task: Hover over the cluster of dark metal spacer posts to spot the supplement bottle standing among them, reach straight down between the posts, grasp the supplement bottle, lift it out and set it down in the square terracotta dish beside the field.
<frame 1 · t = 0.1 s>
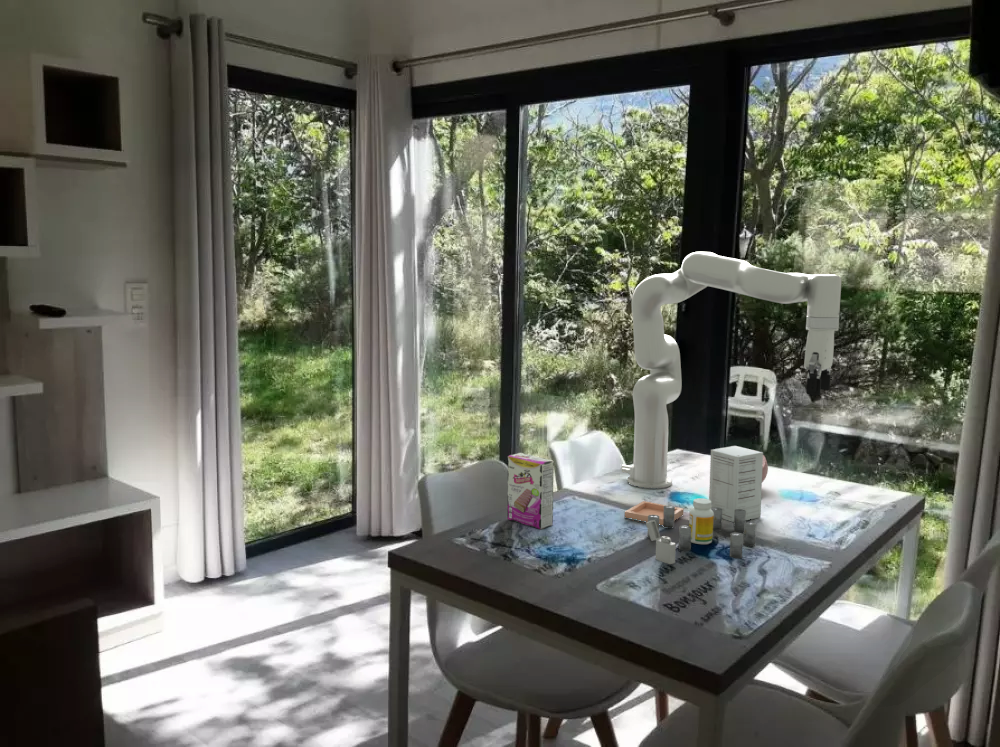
hand: (818, 391, 208), 31 cm above the table, tool pointing down, fingers open, 9 cm apart
lighter: (659, 559, 178), on the table
candy bar box: (529, 523, 202), on the table
supplement box: (734, 516, 208), on the table
dish: (654, 517, 207), on the table
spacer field: (700, 540, 190), on the table
supplement bottle: (700, 541, 190), on the table
mortar and pestle: (744, 489, 233), on the table
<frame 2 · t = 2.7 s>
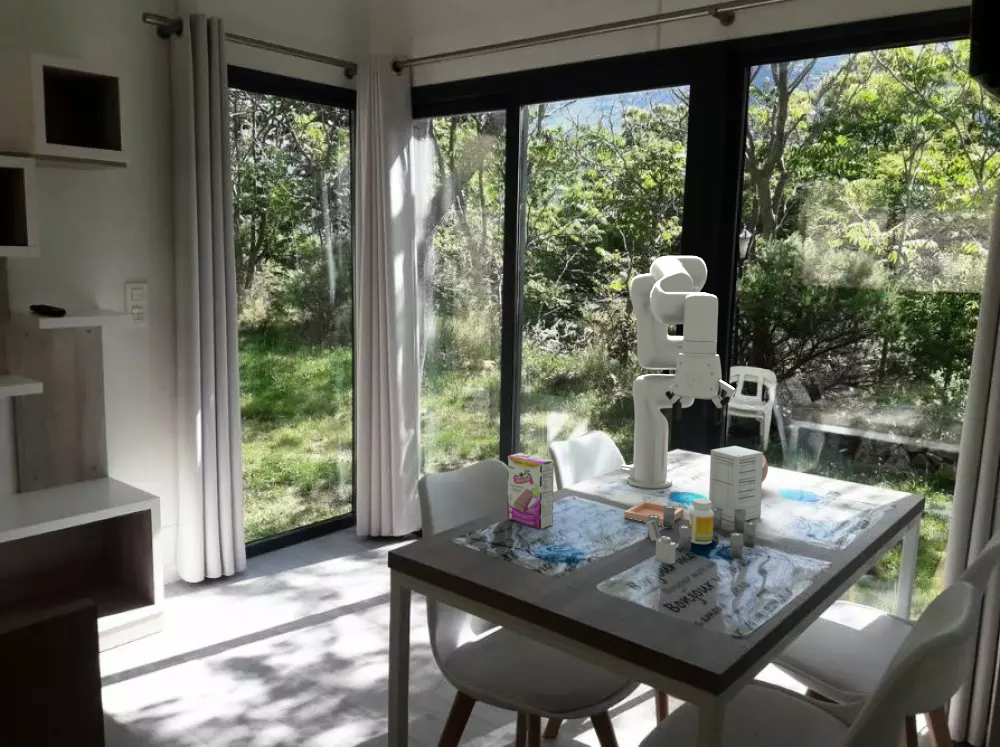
hand: (697, 422, 190), 27 cm above the table, tool pointing down, fingers open, 9 cm apart
nothing on the table moved.
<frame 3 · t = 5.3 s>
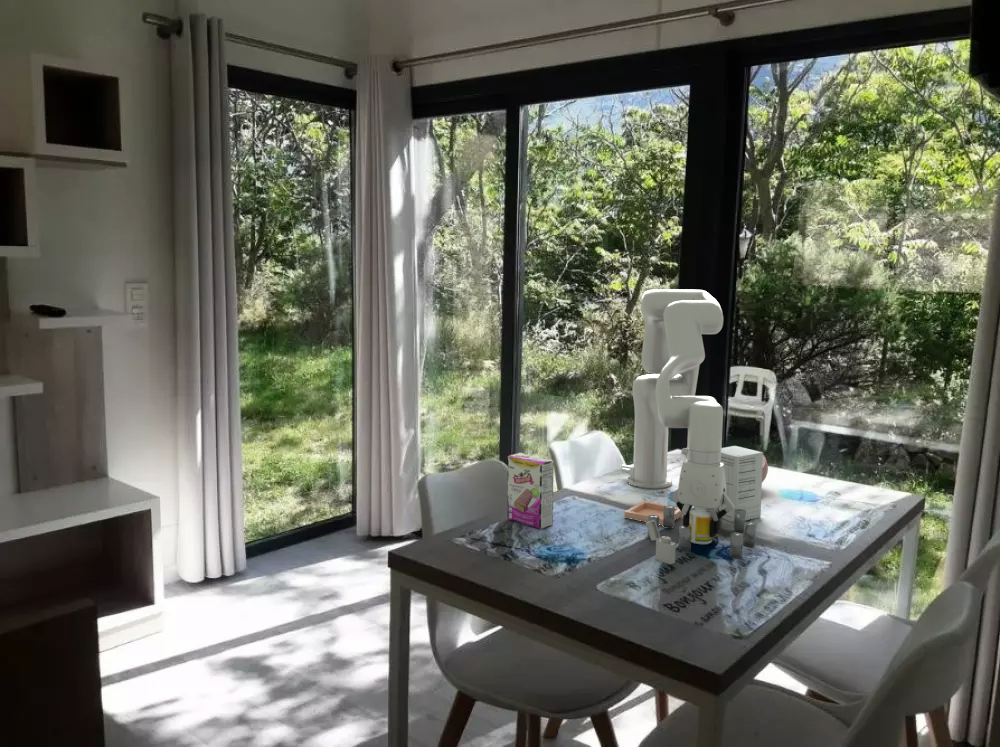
hand: (700, 532, 189), 2 cm above the table, tool pointing down, fingers closed on supplement bottle, 5 cm apart
supplement bottle: (700, 541, 190), on the table, touching gripper
everything else where it was.
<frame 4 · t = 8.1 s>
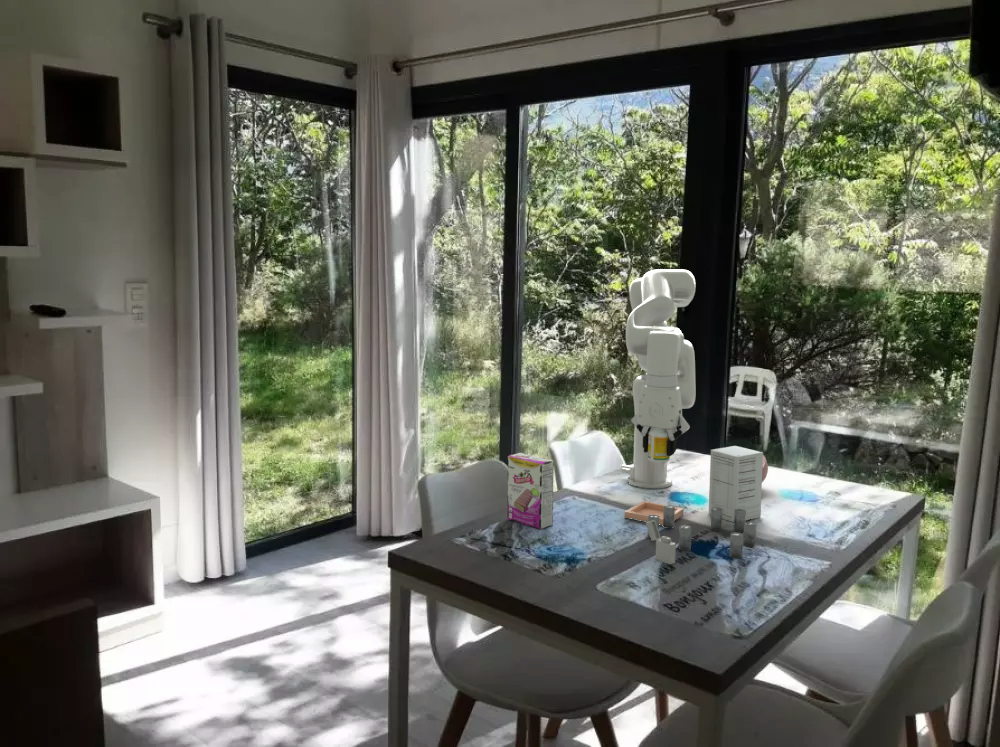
hand: (658, 452, 204), 17 cm above the table, tool pointing down, fingers closed on supplement bottle, 5 cm apart
supplement bottle: (658, 461, 204), point 15 cm above the table, touching gripper
everything else where it was.
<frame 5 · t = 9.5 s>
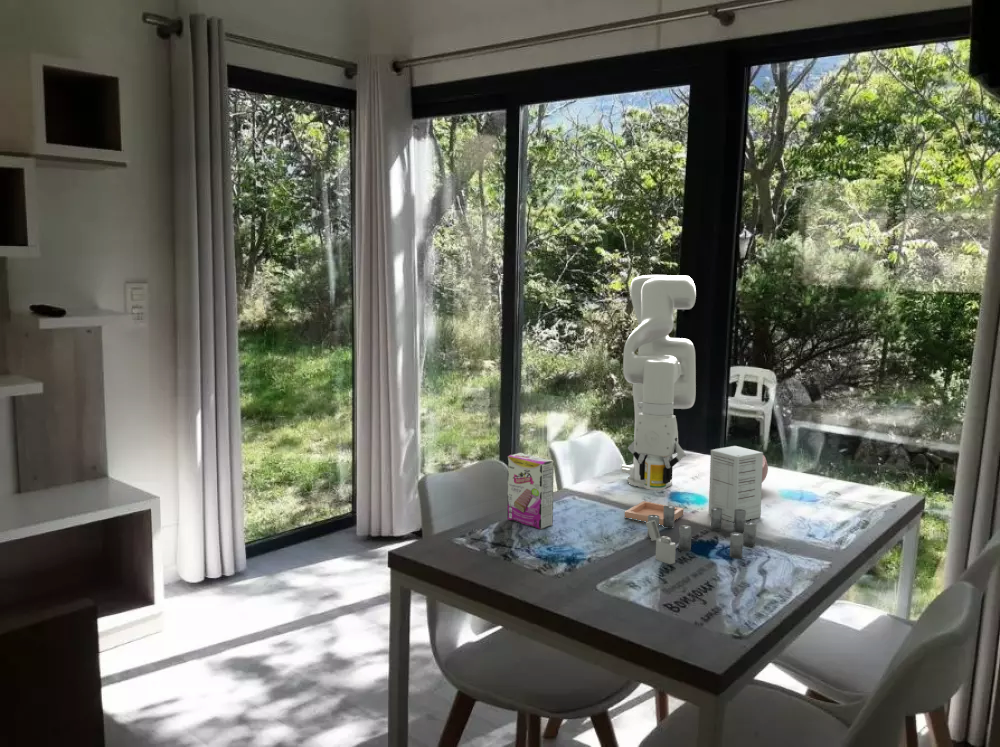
hand: (655, 480, 205), 10 cm above the table, tool pointing down, fingers closed on supplement bottle, 5 cm apart
supplement bottle: (655, 488, 205), point 7 cm above the table, touching gripper
everything else where it was.
when the fingers open (4 cm above the table, at t = 10.8 s): supplement bottle drops 1 cm, resting on dish.
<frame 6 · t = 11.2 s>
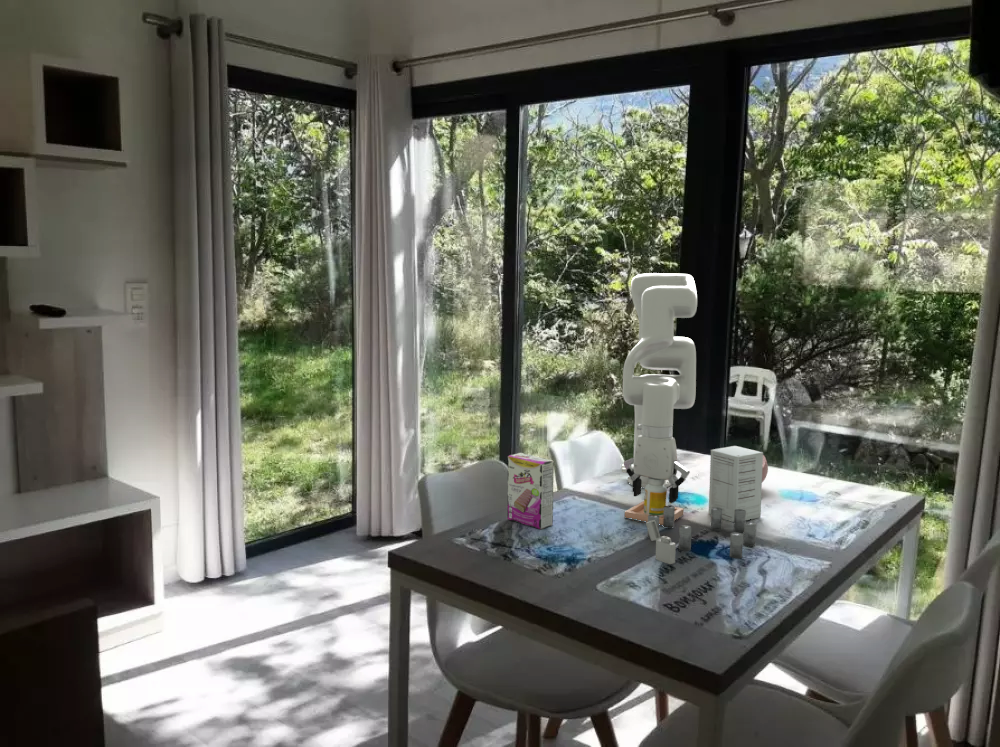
hand: (654, 498, 206), 5 cm above the table, tool pointing down, fingers open, 9 cm apart
supplement bottle: (654, 515, 207), resting on dish
everything else where it was.
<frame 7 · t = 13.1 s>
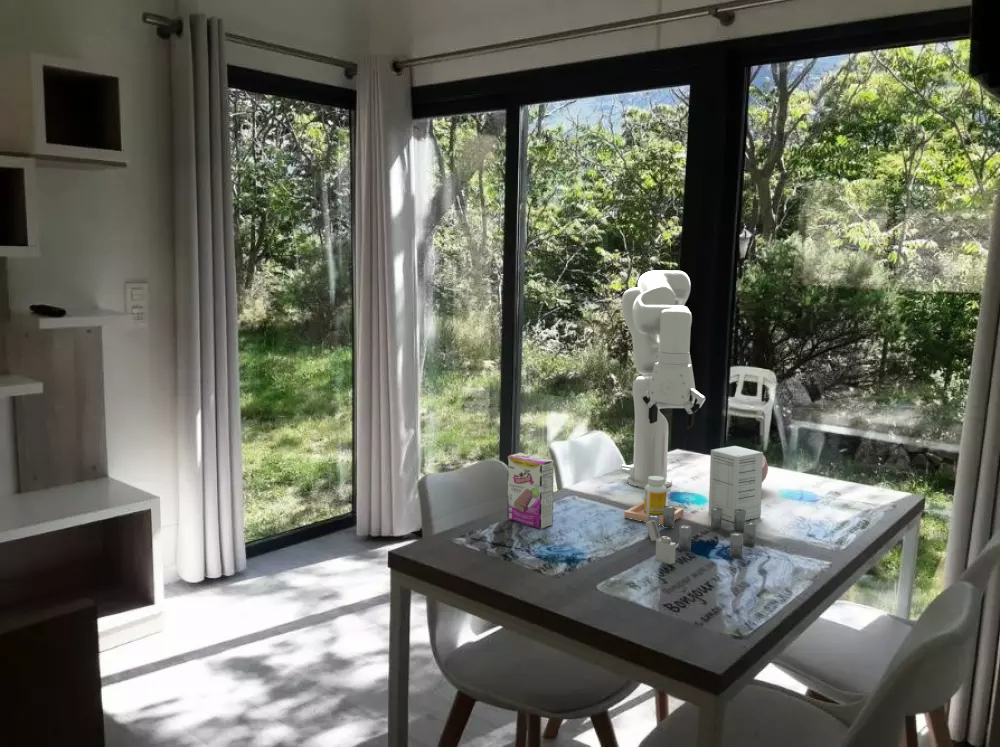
hand: (670, 425, 208), 23 cm above the table, tool pointing down, fingers open, 9 cm apart
nothing on the table moved.
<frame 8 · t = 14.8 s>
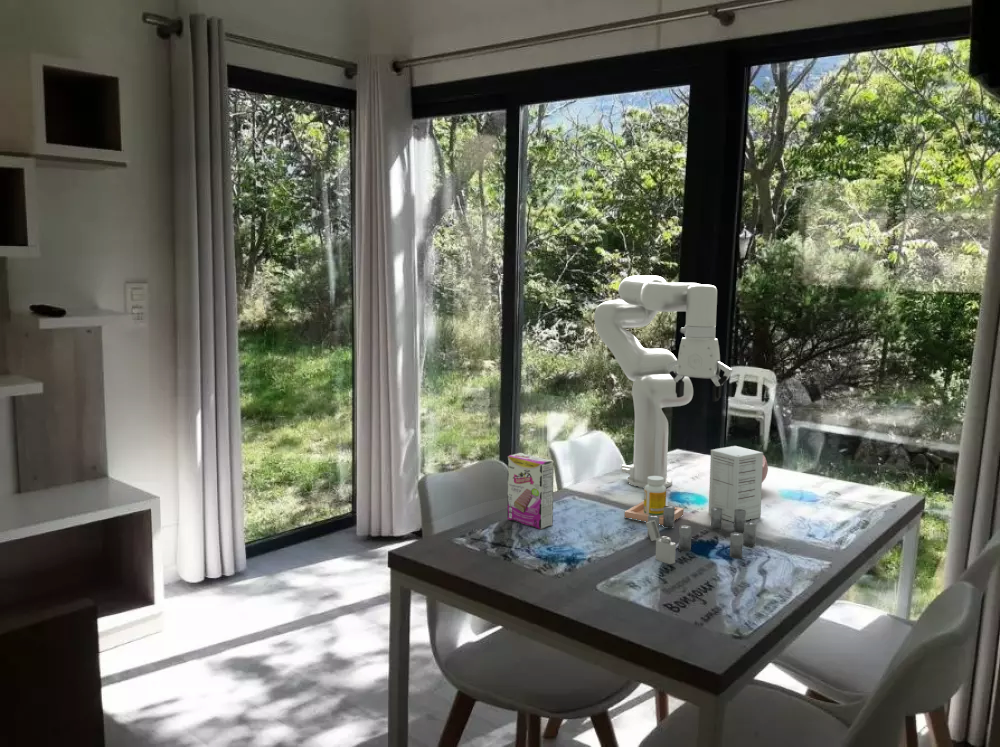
hand: (697, 398, 213), 28 cm above the table, tool pointing down, fingers open, 9 cm apart
nothing on the table moved.
at the end: supplement bottle inside the target area on the dish (0.1 cm from its centre), point 0.3 cm above the dish's base; supplement bottle tilted 0°; the gripper is holding nothing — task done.
